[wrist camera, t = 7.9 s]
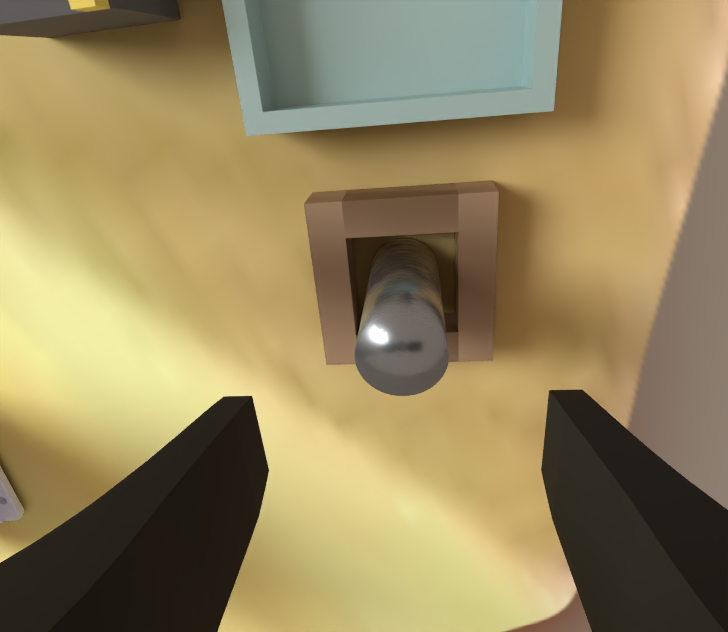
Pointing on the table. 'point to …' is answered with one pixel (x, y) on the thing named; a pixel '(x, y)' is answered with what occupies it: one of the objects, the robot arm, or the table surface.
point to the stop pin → (402, 321)
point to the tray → (390, 60)
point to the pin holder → (406, 217)
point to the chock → (80, 15)
